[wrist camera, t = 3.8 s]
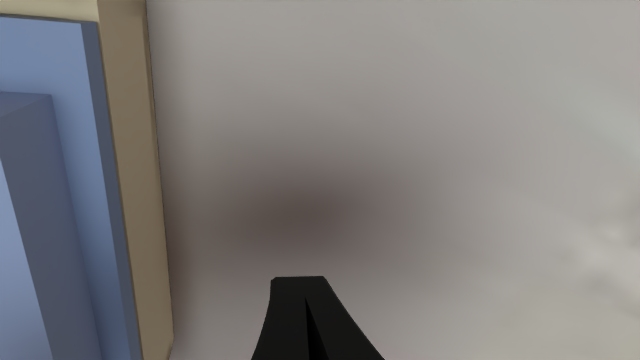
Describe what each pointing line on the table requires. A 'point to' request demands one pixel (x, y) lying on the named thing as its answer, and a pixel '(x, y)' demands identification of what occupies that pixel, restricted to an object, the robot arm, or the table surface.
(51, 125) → the lid
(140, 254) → the beige shallow box
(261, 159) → the table surface
